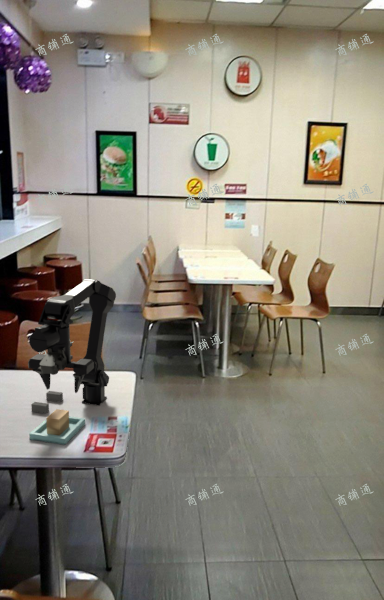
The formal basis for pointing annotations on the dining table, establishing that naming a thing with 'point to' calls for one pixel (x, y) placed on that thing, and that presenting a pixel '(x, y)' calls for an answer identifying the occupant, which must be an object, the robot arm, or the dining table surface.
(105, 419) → the dining table surface
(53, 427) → the wooden block
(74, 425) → the teal tray
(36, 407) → the pair of grey blocks
